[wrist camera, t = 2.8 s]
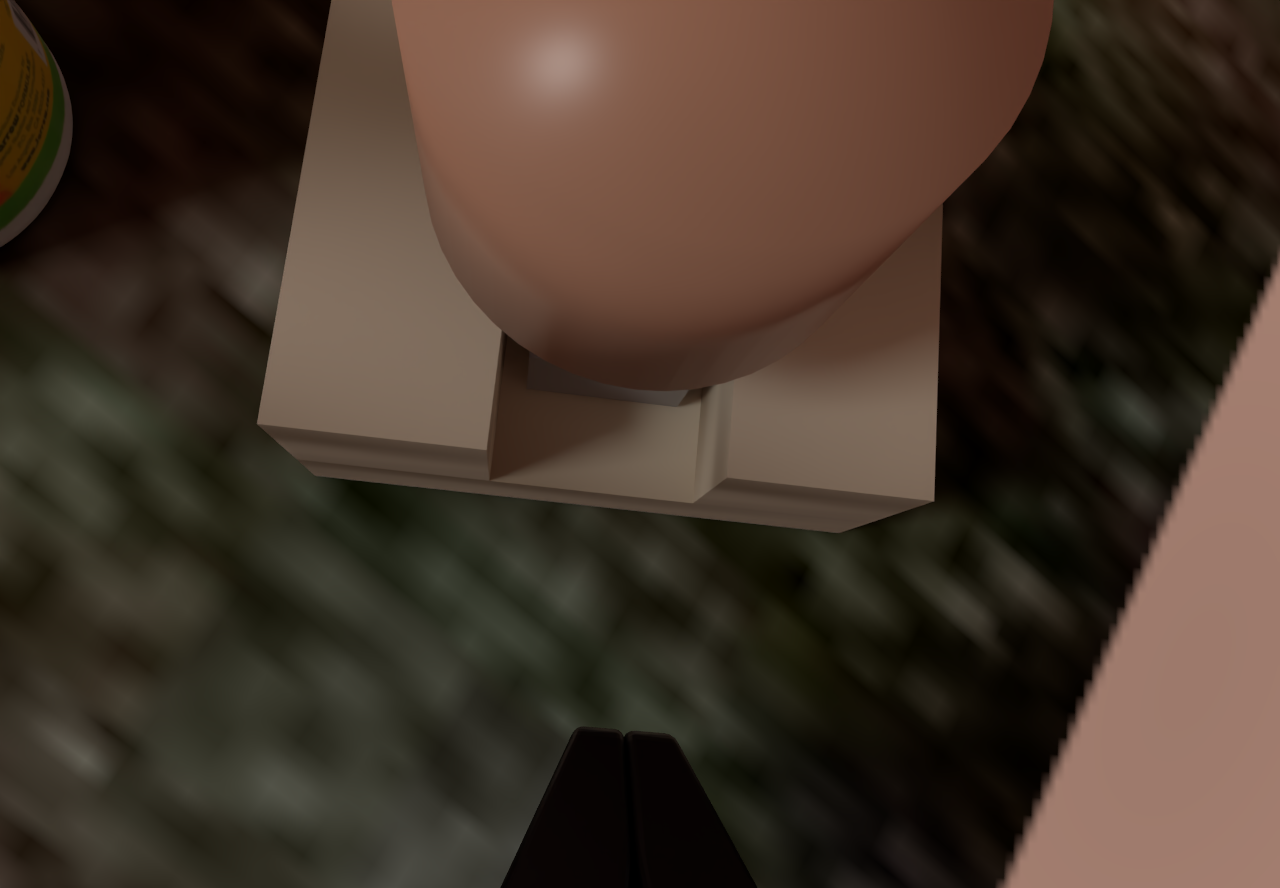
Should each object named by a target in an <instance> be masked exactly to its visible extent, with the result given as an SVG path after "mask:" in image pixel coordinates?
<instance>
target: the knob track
mask: <svg viewBox="0 0 1280 888" xmlns="http://www.w3.org/2000/svg"><path fill="white" fill-rule="evenodd" d="M942 219H943V203H942V204H941V205H940V206H939V207H938V208H937V209H936V210H935V211H934V212H933V213H932V214H931V215H930V216H929V217H928V218H927V219H926V220H925V221H924V222H923V223H922V224H921V225H920V226H919V227H918V228H917V229H916V230H915V231H914V232H913V233H912V234H911V235H910V236H909V237H908V238H907V239H906V240H905V242H904V243H903V244H902V245H901V246H900V247H899V248H898V249H897V250H896V251H895V252H894V253H893V254H892V255H891V256H890V257H889V258H888V259H887V260H886V261H885V262H884V263H883V264H882V265H881V266H880V267H879V268H878V269H877V270H876V271H875V272H874V273H873V274H872V275H871V276H870V277H869V278H868V279H867V280H866V281H865V282H864V283H863V284H862V285H861V286H860V287H859V288H858V289H857V290H856V291H855V292H854V293H853V294H852V295H851V296H850V297H849V298H848V299H847V300H846V301H845V302H844V303H843V304H842V305H841V306H840V307H839V308H838V309H837V310H836V311H835V312H834V313H833V314H832V315H831V316H830V317H829V318H828V319H827V320H826V321H825V322H824V323H823V324H822V325H821V326H820V327H819V328H818V329H817V330H816V331H815V332H814V333H813V334H812V335H811V336H809V337H808V338H807V339H806V340H805V341H804V342H803V343H802V344H801V345H799V346H798V347H797V348H795V349H794V350H792V351H791V352H789V353H788V354H786V355H785V356H784V357H782V358H781V359H779V360H778V361H776V362H774V363H772V364H770V365H768V366H766V367H764V368H762V369H760V370H758V371H756V372H754V373H752V374H749V375H747V376H744V377H741V378H738V379H735V380H732V381H729V382H726V383H723V384H718V385H713V386H708V387H703V388H698V389H691V390H689V391H688V392H687V394H686V395H685V396H684V398H683V399H682V401H681V402H680V403H679V405H678V406H677V407H672V406H664V405H655V404H647V403H639V402H631V401H622V400H614V399H606V398H598V397H589V396H581V395H573V394H565V393H557V392H548V391H540V390H532V389H527V378H528V366H529V355H530V351H529V350H527V349H526V348H524V347H522V346H521V345H519V344H518V343H517V342H516V341H514V340H513V339H512V338H511V337H509V336H508V335H507V334H506V333H505V332H503V331H502V330H501V329H500V328H499V327H497V326H496V325H495V324H494V323H493V322H492V321H491V320H490V319H489V318H488V317H487V315H486V314H485V313H484V312H483V311H482V310H481V309H480V308H479V307H478V306H477V305H476V304H475V303H474V302H473V300H472V299H471V297H470V296H469V295H468V293H467V292H466V290H465V289H464V288H463V286H462V285H461V283H460V282H459V281H458V279H457V278H456V276H455V274H454V272H453V270H452V269H451V267H450V265H449V263H448V261H447V259H446V257H445V255H444V253H443V252H442V249H441V247H440V244H439V241H438V238H437V236H436V233H435V230H434V228H433V225H432V222H431V217H430V212H429V208H428V203H427V198H426V194H425V188H424V182H423V176H422V171H421V165H420V159H419V154H418V148H417V142H416V137H415V131H414V125H413V120H412V114H411V108H410V103H409V97H408V91H407V86H406V80H405V74H404V69H403V63H402V57H401V52H400V46H399V40H398V35H397V29H396V23H395V18H394V12H393V6H392V1H391V0H331V6H330V12H329V17H328V23H327V29H326V34H325V40H324V46H323V52H322V57H321V63H320V69H319V74H318V80H317V86H316V91H315V97H314V103H313V108H312V114H311V120H310V125H309V131H308V137H307V142H306V148H305V154H304V160H303V165H302V171H301V177H300V182H299V188H298V194H297V199H296V205H295V211H294V216H293V222H292V228H291V233H290V239H289V245H288V250H287V256H286V262H285V268H284V273H283V279H282V285H281V290H280V296H279V302H278V307H277V313H276V319H275V324H274V330H273V336H272V341H271V347H270V353H269V359H268V364H267V370H266V376H265V381H264V387H263V393H262V398H261V404H260V410H259V415H258V421H257V424H258V425H259V426H260V427H261V428H262V429H263V430H264V431H266V432H267V433H268V434H269V435H270V436H271V437H272V438H273V439H275V440H276V441H277V442H278V443H279V444H280V445H281V446H282V447H284V448H285V449H286V450H287V451H288V452H289V453H290V454H291V455H293V456H294V457H295V458H296V459H297V460H298V461H299V462H300V463H302V464H303V465H304V466H305V467H306V468H307V469H308V470H309V471H310V472H312V473H313V474H314V475H315V476H322V477H331V478H340V479H349V480H358V481H368V482H377V483H386V484H395V485H404V486H413V487H422V488H432V489H441V490H450V491H459V492H468V493H477V494H486V495H496V496H505V497H514V498H523V499H532V500H541V501H550V502H560V503H569V504H578V505H587V506H596V507H605V508H614V509H624V510H633V511H642V512H651V513H660V514H669V515H678V516H688V517H697V518H706V519H715V520H724V521H733V522H742V523H752V524H761V525H770V526H779V527H788V528H797V529H806V530H816V531H825V532H834V533H841V532H844V531H847V530H850V529H853V528H856V527H859V526H862V525H865V524H868V523H871V522H874V521H877V520H880V519H883V518H886V517H889V516H891V515H894V514H897V513H900V512H903V511H906V510H909V509H912V508H915V507H918V506H921V505H924V504H927V503H930V502H933V501H934V489H935V456H936V422H937V388H938V354H939V320H940V286H941V253H942Z"/></svg>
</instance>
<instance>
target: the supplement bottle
mask: <svg viewBox="0 0 1280 888" xmlns="http://www.w3.org/2000/svg"><path fill="white" fill-rule="evenodd" d="M72 132H73V117H72V107H71V102H70V97H69V93H68V90H67V86H66V83H65V80H64V77H63V75H62V72H61V70H60V68H59V66H58V64H57V62H56V60H55V58H54V56H53V54H52V53H51V51H50V50H49V48H48V47H47V45H46V44H45V42H44V41H43V39H42V38H41V36H40V35H39V33H38V32H37V30H36V29H35V27H34V26H33V24H32V23H31V22H30V20H29V19H28V18H27V16H26V15H25V14H24V12H23V11H22V10H21V8H20V7H19V6H18V5H17V3H16V2H15V1H14V0H0V247H2V246H3V245H5V244H6V243H8V242H9V241H11V240H12V239H13V238H14V237H16V236H17V235H18V234H20V233H21V232H22V231H23V230H24V229H25V228H26V227H27V226H28V225H29V224H30V223H31V222H32V221H33V220H34V219H35V218H36V217H37V216H38V215H39V214H40V212H41V211H42V210H43V208H44V207H45V206H46V204H47V203H48V201H49V200H50V198H51V196H52V195H53V193H54V191H55V190H56V188H57V185H58V183H59V181H60V179H61V177H62V175H63V172H64V169H65V167H66V164H67V161H68V157H69V154H70V148H71V142H72Z"/></svg>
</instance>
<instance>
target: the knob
mask: <svg viewBox="0 0 1280 888" xmlns="http://www.w3.org/2000/svg"><path fill="white" fill-rule="evenodd" d="M391 1H392V6H393V12H394V18H395V23H396V29H397V35H398V40H399V46H400V52H401V57H402V63H403V69H404V74H405V80H406V86H407V91H408V97H409V103H410V108H411V114H412V120H413V125H414V131H415V137H416V142H417V148H418V154H419V159H420V165H421V171H422V176H423V182H424V188H425V194H426V198H427V203H428V208H429V212H430V217H431V222H432V225H433V228H434V230H435V233H436V236H437V238H438V241H439V244H440V247H441V249H442V252H443V253H444V255H445V257H446V259H447V261H448V263H449V265H450V267H451V269H452V270H453V272H454V274H455V276H456V278H457V279H458V281H459V282H460V283H461V285H462V286H463V288H464V289H465V290H466V292H467V293H468V295H469V296H470V297H471V299H472V300H473V302H474V303H475V304H476V305H477V306H478V307H479V308H480V309H481V310H482V311H483V312H484V313H485V314H486V315H487V317H488V318H489V319H490V320H491V321H492V322H493V323H494V324H495V325H496V326H497V327H499V328H500V329H501V330H502V331H503V332H505V333H506V334H507V335H508V336H509V337H511V338H512V339H513V340H514V341H516V342H517V343H518V344H519V345H521V346H522V347H524V348H526V349H527V350H529V351H530V355H529V366H528V378H527V389H532V390H540V391H548V392H557V393H565V394H573V395H581V396H589V397H598V398H606V399H614V400H622V401H631V402H639V403H647V404H655V405H664V406H672V407H677V406H678V405H679V403H680V402H681V401H682V399H683V398H684V396H685V395H686V394H687V392H688V391H689V390H691V389H698V388H703V387H708V386H713V385H718V384H723V383H726V382H729V381H732V380H735V379H738V378H741V377H744V376H747V375H749V374H752V373H754V372H756V371H758V370H760V369H762V368H764V367H766V366H768V365H770V364H772V363H774V362H776V361H778V360H779V359H781V358H782V357H784V356H785V355H786V354H788V353H789V352H791V351H792V350H794V349H795V348H797V347H798V346H799V345H801V344H802V343H803V342H804V341H805V340H806V339H807V338H808V337H809V336H811V335H812V334H813V333H814V332H815V331H816V330H817V329H818V328H819V327H820V326H821V325H822V324H823V323H824V322H825V321H826V320H827V319H828V318H829V317H830V316H831V315H832V314H833V313H834V312H835V311H836V310H837V309H838V308H839V307H840V306H841V305H842V304H843V303H844V302H845V301H846V300H847V299H848V298H849V297H850V296H851V295H852V294H853V293H854V292H855V291H856V290H857V289H858V288H859V287H860V286H861V285H862V284H863V283H864V282H865V281H866V280H867V279H868V278H869V277H870V276H871V275H872V274H873V273H874V272H875V271H876V270H877V269H878V268H879V267H880V266H881V265H882V264H883V263H884V262H885V261H886V260H887V259H888V258H889V257H890V256H891V255H892V254H893V253H894V252H895V251H896V250H897V249H898V248H899V247H900V246H901V245H902V244H903V243H904V242H905V240H906V239H907V238H908V237H909V236H910V235H911V234H912V233H913V232H914V231H915V230H916V229H917V228H918V227H919V226H920V225H921V224H922V223H923V222H924V221H925V220H926V219H927V218H928V217H929V216H930V215H931V214H932V213H933V212H934V211H935V210H936V209H937V208H938V207H939V206H940V205H941V204H942V203H943V202H944V201H945V200H946V199H947V198H948V197H949V196H950V195H951V194H952V193H953V192H954V191H955V190H956V189H957V188H958V187H959V186H960V185H961V184H962V183H963V182H964V181H965V180H966V179H967V178H968V177H969V176H970V175H971V174H972V173H973V172H974V171H975V170H976V169H977V168H978V167H979V166H980V165H981V164H982V163H983V162H984V161H985V160H986V159H987V157H988V156H989V155H990V154H991V152H992V151H993V150H994V149H995V147H996V146H997V145H998V144H999V142H1000V141H1001V140H1002V139H1003V137H1004V136H1005V135H1006V134H1007V132H1008V131H1009V130H1010V129H1011V127H1012V125H1013V123H1014V122H1015V120H1016V118H1017V117H1018V115H1019V113H1020V111H1021V110H1022V108H1023V106H1024V104H1025V103H1026V101H1027V99H1028V97H1029V96H1030V93H1031V91H1032V88H1033V86H1034V83H1035V80H1036V78H1037V75H1038V73H1039V70H1040V68H1041V65H1042V62H1043V60H1044V56H1045V51H1046V47H1047V42H1048V38H1049V33H1050V29H1051V24H1052V15H1053V1H1054V0H391Z"/></svg>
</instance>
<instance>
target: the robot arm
mask: <svg viewBox="0 0 1280 888" xmlns="http://www.w3.org/2000/svg"><path fill="white" fill-rule="evenodd" d="M501 888H757V886H756V884H755V882H754V881H753V879H752V877H751V875H750V873H749V871H748V870H747V868H746V866H745V864H744V862H743V860H742V859H741V857H740V855H739V853H738V851H737V850H736V848H735V846H734V844H733V842H732V840H731V839H730V837H729V835H728V833H727V831H726V829H725V828H724V826H723V824H722V822H721V820H720V819H719V817H718V815H717V813H716V811H715V809H714V808H713V806H712V804H711V802H710V800H709V798H708V797H707V795H706V793H705V791H704V789H703V787H702V786H701V784H700V782H699V780H698V778H697V777H696V775H695V773H694V771H693V769H692V767H691V766H690V764H689V762H688V760H687V758H686V756H685V755H684V753H683V751H682V749H681V747H680V746H679V744H678V742H677V741H676V740H675V738H673V737H672V736H671V735H669V734H665V733H653V732H641V731H630V732H628V733H626V735H625V736H624V737H623V735H622V733H621V732H620V731H619V730H616V729H606V728H594V727H579V728H577V729H576V730H575V731H574V732H573V734H572V735H571V737H570V740H569V742H568V744H567V746H566V748H565V750H564V752H563V755H562V757H561V759H560V761H559V763H558V765H557V768H556V770H555V772H554V774H553V776H552V778H551V780H550V783H549V785H548V787H547V789H546V791H545V793H544V795H543V798H542V800H541V802H540V804H539V806H538V808H537V810H536V813H535V815H534V817H533V819H532V821H531V823H530V825H529V828H528V830H527V832H526V834H525V836H524V838H523V841H522V843H521V845H520V847H519V849H518V851H517V853H516V856H515V858H514V860H513V862H512V864H511V866H510V868H509V871H508V873H507V875H506V877H505V879H504V881H503V883H502V886H501Z"/></svg>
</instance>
